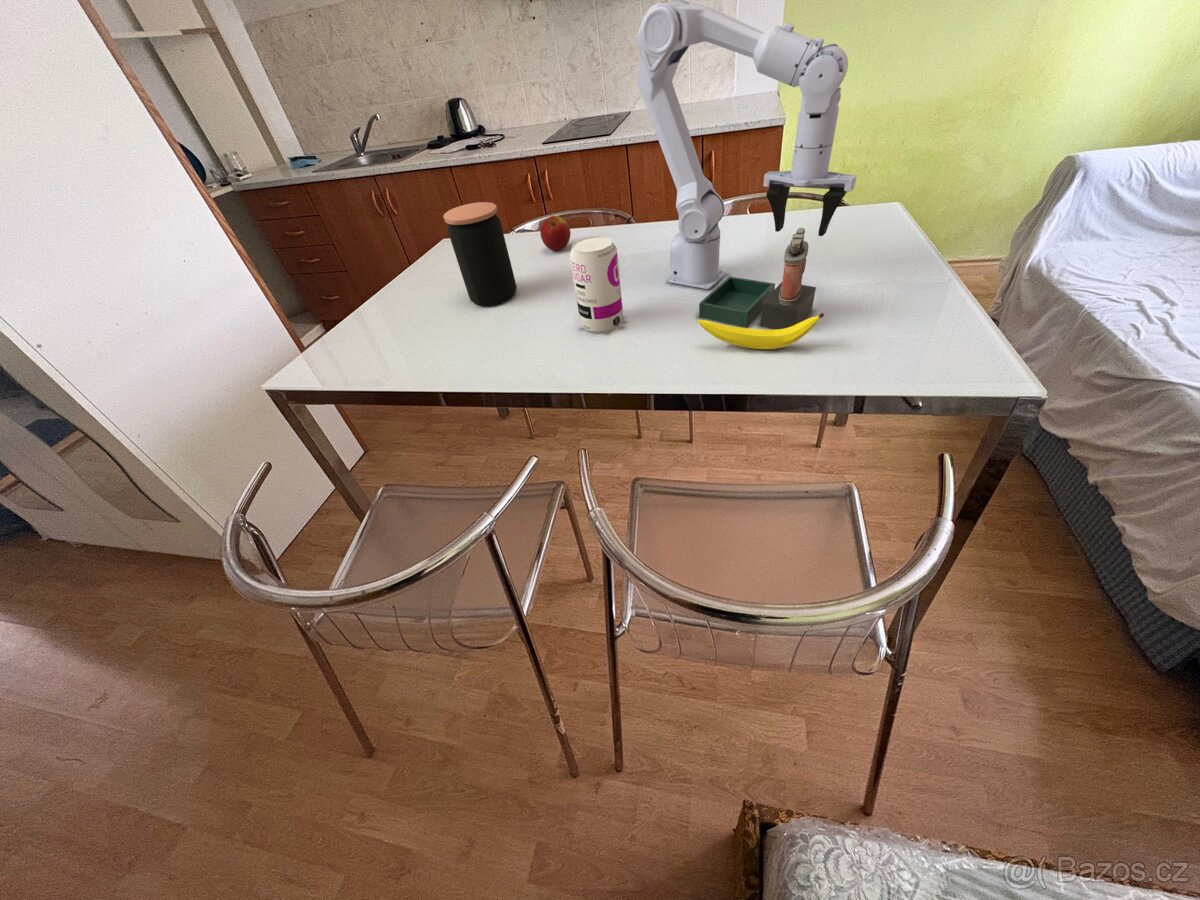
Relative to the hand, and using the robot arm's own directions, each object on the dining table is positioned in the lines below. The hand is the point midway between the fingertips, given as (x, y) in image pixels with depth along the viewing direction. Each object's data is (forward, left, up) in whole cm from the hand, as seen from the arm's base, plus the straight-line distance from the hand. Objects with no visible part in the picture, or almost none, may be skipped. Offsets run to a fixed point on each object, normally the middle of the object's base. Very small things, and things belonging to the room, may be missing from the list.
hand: (800, 231), depth 86 cm
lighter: (+4, -12, -6) cm, 14 cm away
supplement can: (-26, -27, -11) cm, 39 cm away
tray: (-6, -12, -10) cm, 17 cm away
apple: (-60, 0, -11) cm, 61 cm away
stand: (+4, -12, -10) cm, 16 cm away
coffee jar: (-56, -27, -11) cm, 63 cm away
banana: (+3, -23, -11) cm, 26 cm away
